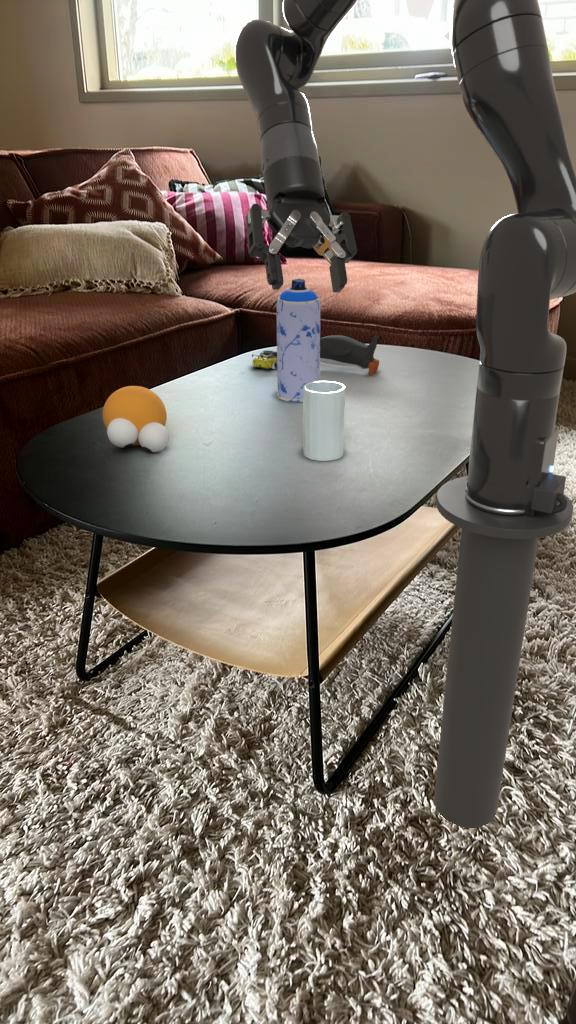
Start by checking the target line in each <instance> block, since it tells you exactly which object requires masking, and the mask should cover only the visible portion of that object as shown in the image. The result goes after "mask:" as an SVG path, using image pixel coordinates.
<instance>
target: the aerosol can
mask: <svg viewBox="0 0 576 1024" xmlns="http://www.w3.org/2000/svg"><path fill="white" fill-rule="evenodd" d="M276 300H277V301H276V303H275V304H276V352H277V368H276V371H277V375H276V377H277V379H276V380H277V382H276V383H277V392H276V398H278V399H279V400H281V401H284V402H290V403H303V387H304V385H305V384H307V383H310V382H315V381H321V380H320V379H321V377H320V376H321V362H320V338H321V301H320V300H321V299H320V297H319V296H317V294H316V292H315V291H314V290H312V289H310V287H306V280H305V279H303V278H295V279H292V280H291V287H290V286H289V287H288V288H287V289H285V290H283V291H282V292H281V294H280V295H279V296H278V297H277V299H276Z"/></svg>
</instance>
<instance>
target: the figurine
mask: <svg viewBox="0 0 576 1024" xmlns="http://www.w3.org/2000/svg"><path fill="white" fill-rule="evenodd" d="M377 346H378V334H375V335H374V336H373V338H372V340H371V341H370V342H369V344H367V343H366V342H360V341H358V340H356V339H354V338H353V337H349V336H345V335H341V334H334V335H333V334H332V335H325V336H322V337H320V363H324V364H329V365H335V366H343V367H344V366H345V367H357V368H359V369H362V370H366V369H368V376H372V375H373V374H375V373H377V372H378V369H379V366H380V360H379V359H377V358H375V357H374V354H375V351H376V350H377V349H376V348H377Z"/></svg>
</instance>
